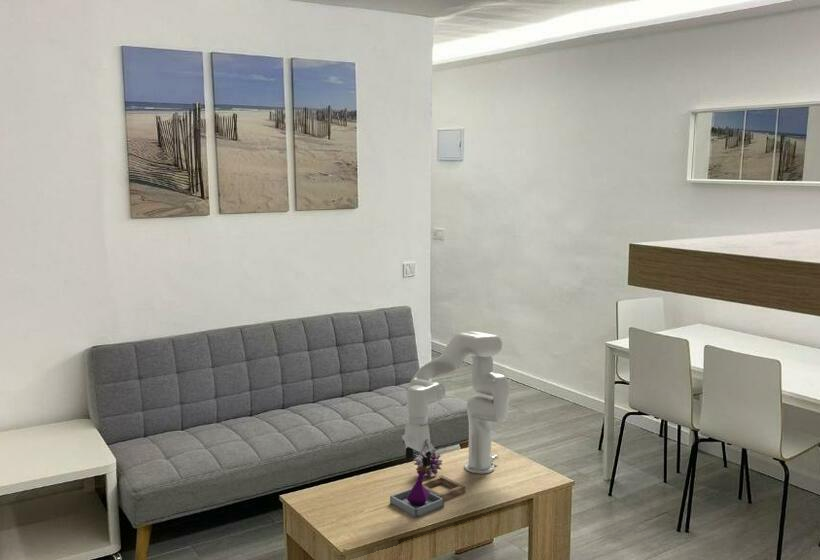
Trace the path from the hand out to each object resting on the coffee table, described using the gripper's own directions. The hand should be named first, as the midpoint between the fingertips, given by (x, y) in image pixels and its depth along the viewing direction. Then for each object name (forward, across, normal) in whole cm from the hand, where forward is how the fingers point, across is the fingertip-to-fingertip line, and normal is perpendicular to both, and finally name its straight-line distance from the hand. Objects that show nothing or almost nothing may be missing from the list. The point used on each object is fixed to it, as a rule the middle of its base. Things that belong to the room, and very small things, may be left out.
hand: (417, 462), depth 279 cm
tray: (+17, 0, -1) cm, 17 cm away
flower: (+18, -17, +20) cm, 32 cm away
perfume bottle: (+16, +1, 0) cm, 17 cm away
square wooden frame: (+17, -3, +14) cm, 22 cm away
